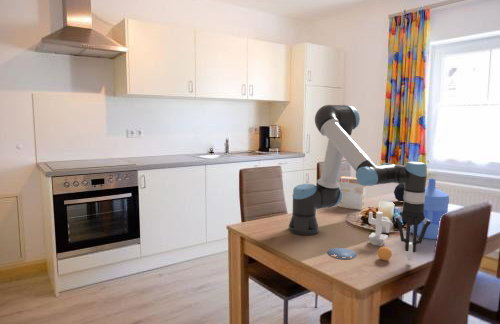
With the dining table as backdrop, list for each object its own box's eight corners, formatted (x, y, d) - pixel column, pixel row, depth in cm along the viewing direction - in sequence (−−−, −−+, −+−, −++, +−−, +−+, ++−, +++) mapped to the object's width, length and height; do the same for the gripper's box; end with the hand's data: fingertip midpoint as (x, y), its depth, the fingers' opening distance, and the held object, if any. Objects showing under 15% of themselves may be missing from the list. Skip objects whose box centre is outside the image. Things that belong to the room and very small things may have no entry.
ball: (376, 261, 142) (377, 248, 142) (377, 256, 147) (378, 243, 147) (391, 263, 140) (392, 250, 140) (391, 258, 145) (392, 245, 145)
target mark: (325, 256, 147) (325, 256, 147) (329, 246, 158) (329, 246, 158) (355, 261, 142) (355, 260, 142) (357, 250, 153) (357, 250, 153)
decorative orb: (391, 191, 248) (394, 176, 238) (414, 192, 244) (418, 178, 234) (393, 207, 238) (395, 193, 228) (417, 208, 234) (421, 194, 224)
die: (390, 237, 172) (398, 220, 174) (374, 228, 173) (383, 211, 175) (383, 237, 180) (391, 221, 182) (368, 228, 181) (377, 212, 183)
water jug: (411, 227, 185) (414, 175, 181) (445, 232, 178) (449, 178, 175) (410, 236, 171) (414, 180, 168) (446, 242, 165) (451, 183, 161)
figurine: (386, 248, 156) (388, 215, 154) (365, 243, 162) (367, 212, 160) (390, 243, 163) (392, 211, 160) (369, 239, 168) (371, 208, 166)
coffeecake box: (364, 207, 224) (366, 177, 221) (361, 210, 218) (363, 179, 215) (341, 204, 232) (343, 175, 229) (338, 206, 226) (339, 177, 223)
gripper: (431, 201, 138) (426, 258, 141) (395, 197, 143) (392, 253, 146) (433, 205, 131) (428, 265, 134) (395, 202, 136) (392, 260, 139)
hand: (409, 258), depth 140 cm, fingers closed
